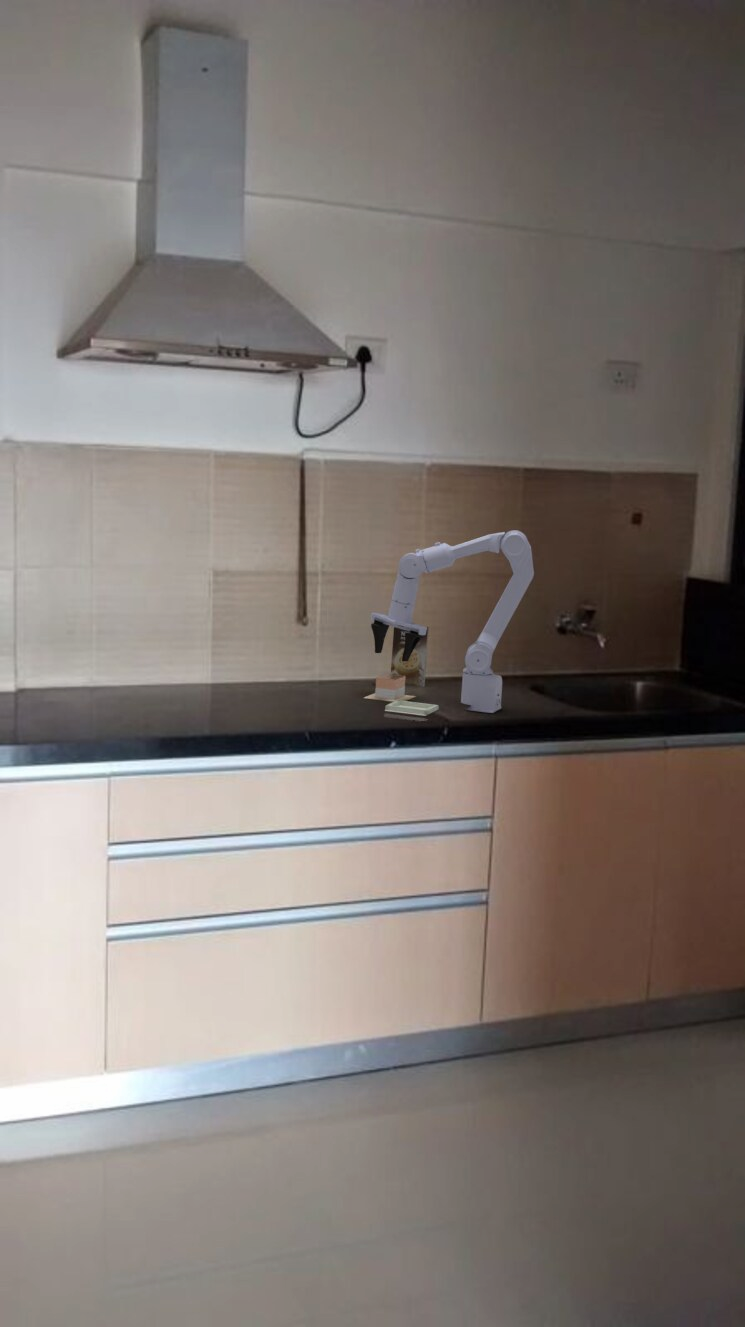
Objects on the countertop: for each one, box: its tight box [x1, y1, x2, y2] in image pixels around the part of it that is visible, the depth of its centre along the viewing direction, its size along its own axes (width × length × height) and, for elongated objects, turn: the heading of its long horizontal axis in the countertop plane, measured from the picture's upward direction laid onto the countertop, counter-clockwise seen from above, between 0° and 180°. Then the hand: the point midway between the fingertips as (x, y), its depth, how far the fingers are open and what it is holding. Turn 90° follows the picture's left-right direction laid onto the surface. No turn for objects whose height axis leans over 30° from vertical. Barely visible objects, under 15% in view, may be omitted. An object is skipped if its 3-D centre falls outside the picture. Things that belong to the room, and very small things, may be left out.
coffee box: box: [390, 624, 429, 687], centre depth 344 cm, size 9×6×16 cm
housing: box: [374, 673, 406, 700], centre depth 321 cm, size 5×7×5 cm
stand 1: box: [363, 692, 417, 703], centre depth 322 cm, size 10×10×2 cm
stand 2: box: [383, 700, 440, 722], centre depth 307 cm, size 10×10×2 cm
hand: (391, 656), depth 321 cm, fingers open, 7 cm apart
